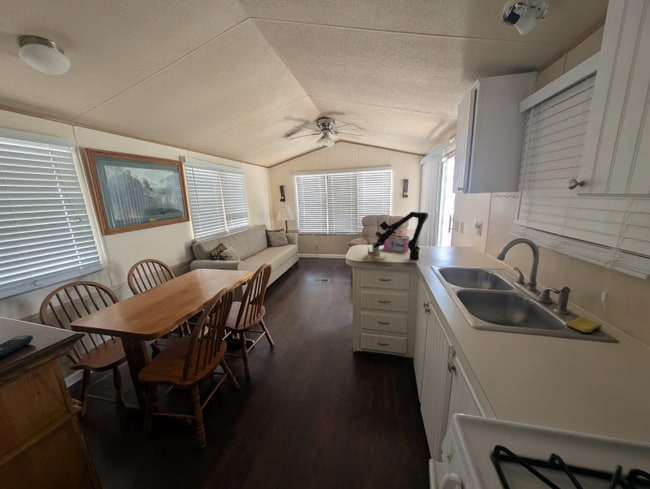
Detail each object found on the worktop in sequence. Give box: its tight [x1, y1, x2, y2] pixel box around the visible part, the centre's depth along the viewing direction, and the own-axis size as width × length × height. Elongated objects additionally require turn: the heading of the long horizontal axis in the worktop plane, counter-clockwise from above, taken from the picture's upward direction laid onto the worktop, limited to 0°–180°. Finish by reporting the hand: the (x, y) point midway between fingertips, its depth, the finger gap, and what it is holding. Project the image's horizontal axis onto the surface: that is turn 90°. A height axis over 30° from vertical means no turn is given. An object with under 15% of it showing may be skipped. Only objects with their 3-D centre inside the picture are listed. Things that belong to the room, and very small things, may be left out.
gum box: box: [383, 234, 410, 253], centre depth 235 cm, size 24×8×14 cm, turn 46°
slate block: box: [371, 240, 380, 252], centre depth 218 cm, size 6×6×12 cm
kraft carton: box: [367, 247, 388, 262], centre depth 204 cm, size 16×15×8 cm
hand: (374, 246), depth 219 cm, fingers open, 9 cm apart
